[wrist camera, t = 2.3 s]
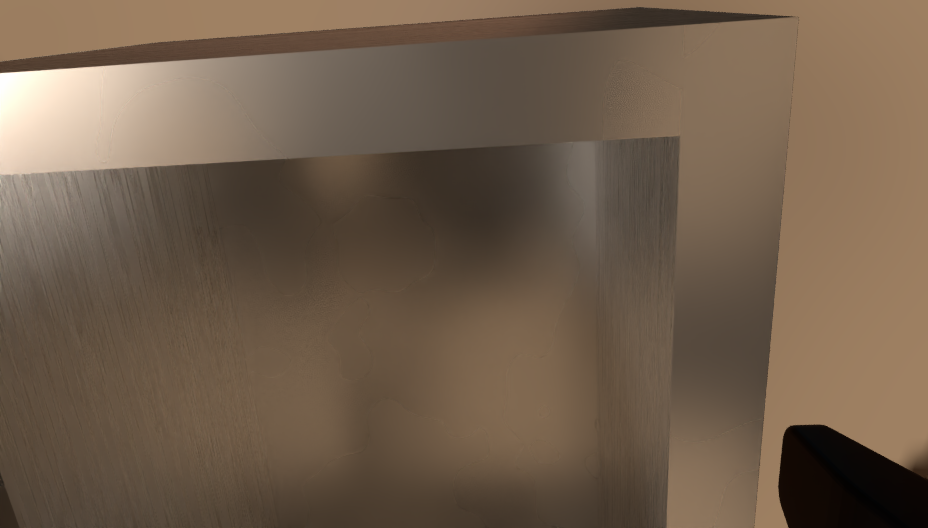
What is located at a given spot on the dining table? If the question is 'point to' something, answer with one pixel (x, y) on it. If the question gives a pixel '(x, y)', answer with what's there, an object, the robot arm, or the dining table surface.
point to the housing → (395, 275)
